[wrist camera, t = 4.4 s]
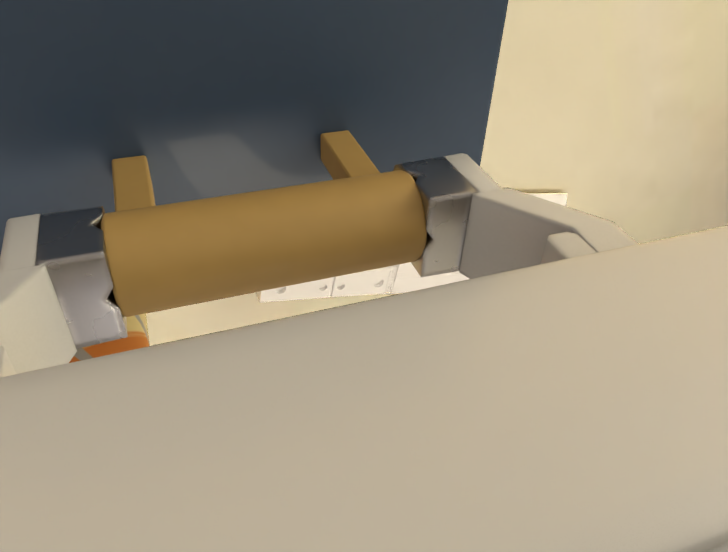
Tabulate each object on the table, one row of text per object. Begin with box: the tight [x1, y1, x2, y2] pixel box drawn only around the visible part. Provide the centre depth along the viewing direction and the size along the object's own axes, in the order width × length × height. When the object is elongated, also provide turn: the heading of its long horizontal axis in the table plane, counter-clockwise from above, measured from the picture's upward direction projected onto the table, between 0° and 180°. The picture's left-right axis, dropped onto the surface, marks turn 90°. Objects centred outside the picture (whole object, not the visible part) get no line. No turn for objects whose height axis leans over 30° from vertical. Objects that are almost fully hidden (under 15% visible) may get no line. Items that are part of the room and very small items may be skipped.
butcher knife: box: [256, 193, 567, 303], centre depth 28 cm, size 5×15×1 cm, turn 77°
